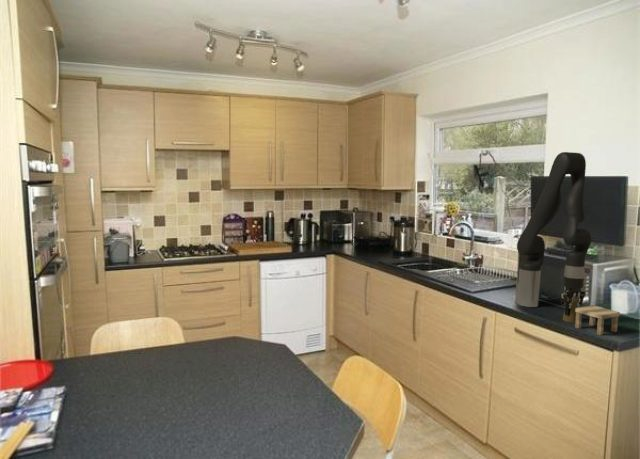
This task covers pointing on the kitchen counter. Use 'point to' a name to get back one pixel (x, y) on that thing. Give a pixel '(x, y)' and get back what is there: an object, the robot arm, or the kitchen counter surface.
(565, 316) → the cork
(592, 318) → the birch stool
